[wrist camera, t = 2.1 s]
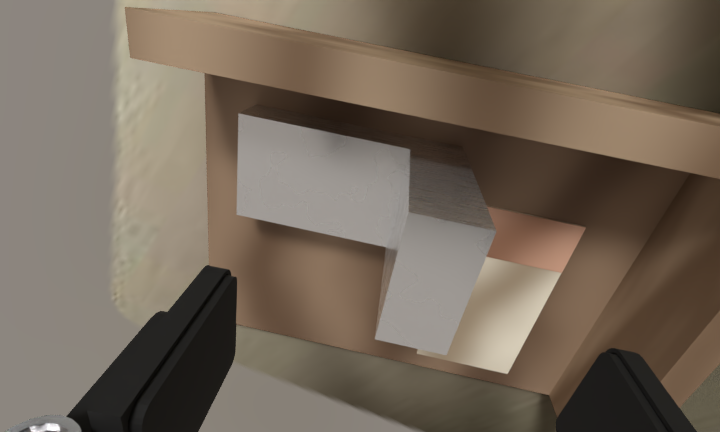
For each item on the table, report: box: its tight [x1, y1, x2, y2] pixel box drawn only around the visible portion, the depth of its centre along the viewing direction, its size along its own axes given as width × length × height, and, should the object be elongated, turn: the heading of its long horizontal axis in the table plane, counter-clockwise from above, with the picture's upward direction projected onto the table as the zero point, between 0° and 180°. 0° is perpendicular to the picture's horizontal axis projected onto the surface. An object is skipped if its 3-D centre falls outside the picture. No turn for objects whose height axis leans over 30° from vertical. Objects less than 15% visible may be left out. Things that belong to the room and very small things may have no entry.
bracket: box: [237, 105, 497, 355], centre depth 15 cm, size 10×5×8 cm, turn 80°
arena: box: [125, 7, 720, 417], centre depth 18 cm, size 24×18×6 cm
